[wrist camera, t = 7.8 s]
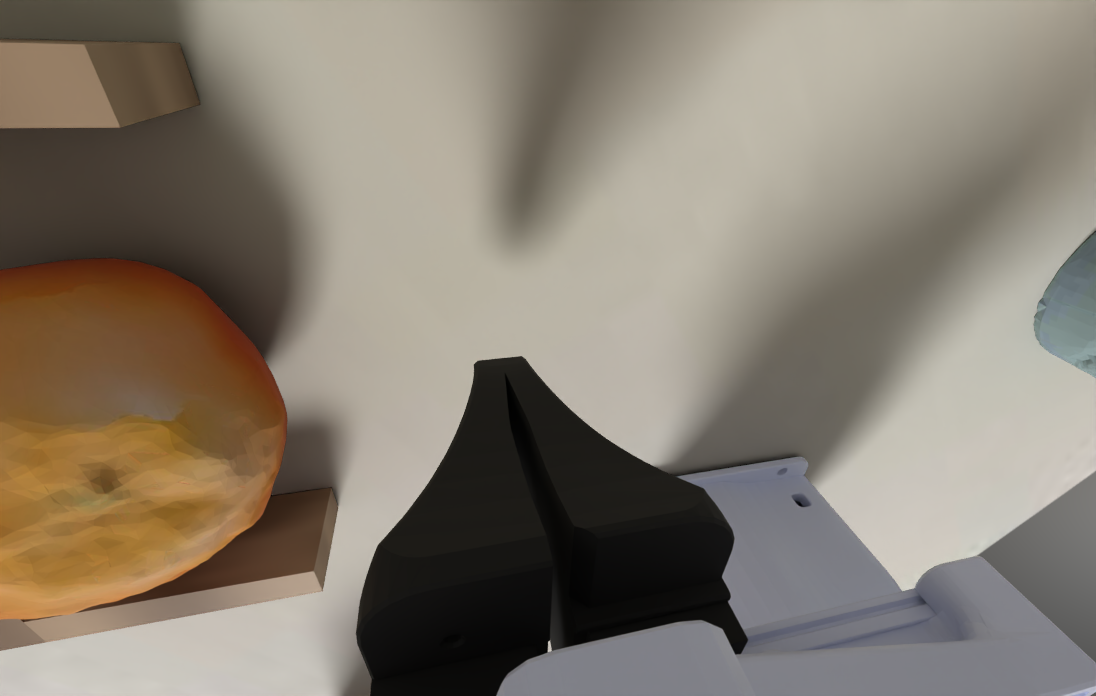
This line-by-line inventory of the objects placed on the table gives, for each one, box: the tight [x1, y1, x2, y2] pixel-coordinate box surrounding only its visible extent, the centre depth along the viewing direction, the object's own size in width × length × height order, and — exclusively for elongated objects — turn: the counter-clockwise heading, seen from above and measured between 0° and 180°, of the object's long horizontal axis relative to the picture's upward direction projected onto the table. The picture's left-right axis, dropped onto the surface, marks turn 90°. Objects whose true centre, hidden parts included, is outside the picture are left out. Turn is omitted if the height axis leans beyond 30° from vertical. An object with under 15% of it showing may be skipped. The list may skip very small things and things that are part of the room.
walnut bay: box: [0, 39, 338, 651], centre depth 12 cm, size 10×16×4 cm, turn 178°
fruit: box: [0, 258, 287, 620], centre depth 12 cm, size 8×8×8 cm
